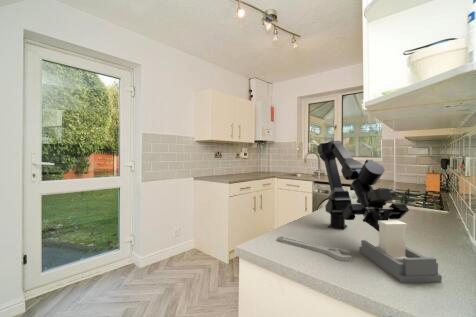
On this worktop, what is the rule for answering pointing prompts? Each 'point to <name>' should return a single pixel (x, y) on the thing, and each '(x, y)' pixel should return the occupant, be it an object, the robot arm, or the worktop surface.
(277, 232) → the worktop surface
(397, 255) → the switch tab
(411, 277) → the switch housing
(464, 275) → the worktop surface
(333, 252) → the adjustable wrench
